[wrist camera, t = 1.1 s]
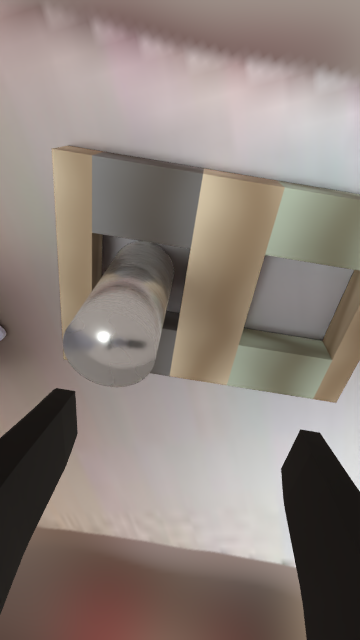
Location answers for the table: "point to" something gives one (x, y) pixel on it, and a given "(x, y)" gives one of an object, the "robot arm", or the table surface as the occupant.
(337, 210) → the tool stand
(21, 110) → the table surface
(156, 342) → the metal cylinder
